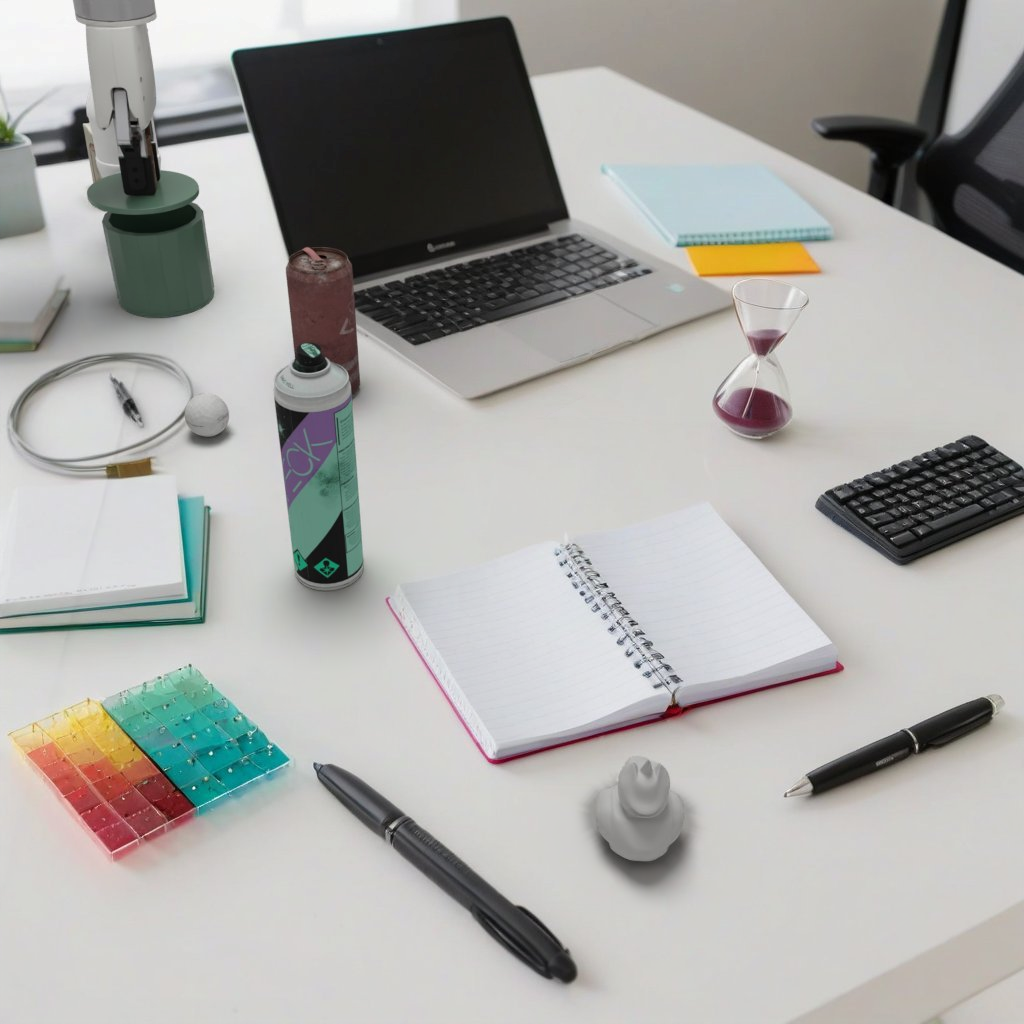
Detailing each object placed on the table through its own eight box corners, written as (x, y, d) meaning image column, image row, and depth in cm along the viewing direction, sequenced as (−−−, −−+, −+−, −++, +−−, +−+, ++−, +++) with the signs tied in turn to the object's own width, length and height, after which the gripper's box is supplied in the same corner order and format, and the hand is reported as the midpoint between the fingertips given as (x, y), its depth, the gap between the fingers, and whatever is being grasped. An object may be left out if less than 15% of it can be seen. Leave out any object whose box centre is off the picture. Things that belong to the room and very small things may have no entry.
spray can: (312, 541, 95) (289, 324, 83) (374, 554, 94) (360, 336, 82) (283, 582, 91) (254, 359, 79) (347, 597, 90) (328, 373, 78)
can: (333, 366, 118) (322, 237, 110) (372, 390, 114) (364, 259, 106) (284, 387, 115) (269, 256, 106) (323, 412, 111) (311, 278, 103)
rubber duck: (594, 876, 70) (603, 789, 65) (591, 789, 75) (599, 703, 70) (683, 879, 70) (699, 793, 65) (675, 793, 75) (689, 707, 70)
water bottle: (128, 234, 143) (88, 22, 128) (184, 239, 142) (150, 26, 127) (104, 259, 137) (59, 39, 122) (161, 263, 136) (124, 43, 121)
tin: (112, 319, 125) (95, 237, 119) (125, 277, 133) (110, 198, 128) (210, 315, 126) (198, 233, 121) (217, 274, 135) (206, 196, 129)
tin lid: (80, 221, 117) (67, 156, 114) (97, 180, 127) (86, 119, 123) (195, 219, 119) (186, 155, 115) (204, 179, 128) (196, 119, 124)
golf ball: (191, 422, 109) (185, 385, 107) (234, 421, 109) (228, 384, 107) (184, 445, 106) (178, 408, 104) (229, 444, 106) (223, 407, 104)
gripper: (87, -18, 117) (117, 160, 128) (57, 23, 104) (93, 218, 115) (163, -17, 118) (186, 160, 129) (143, 24, 105) (171, 217, 116)
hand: (142, 185), depth 122 cm, fingers closed on tin lid, 3 cm apart
